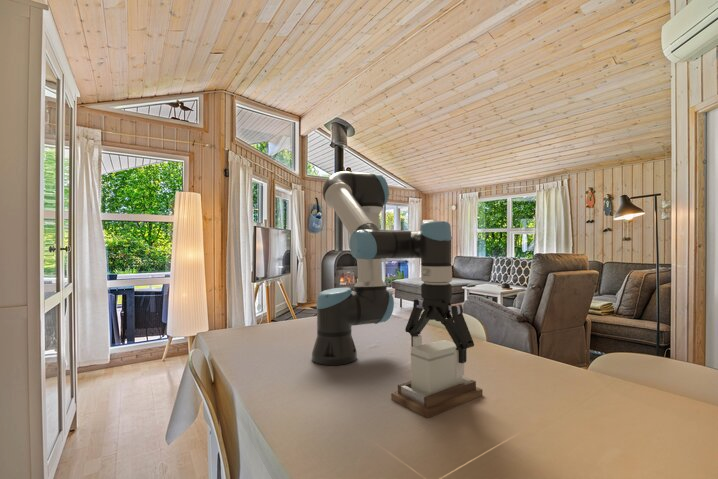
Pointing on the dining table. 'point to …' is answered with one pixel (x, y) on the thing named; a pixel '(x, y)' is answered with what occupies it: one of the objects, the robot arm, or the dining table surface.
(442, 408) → the tray
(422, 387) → the white lidded box
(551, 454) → the dining table surface
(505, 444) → the dining table surface
